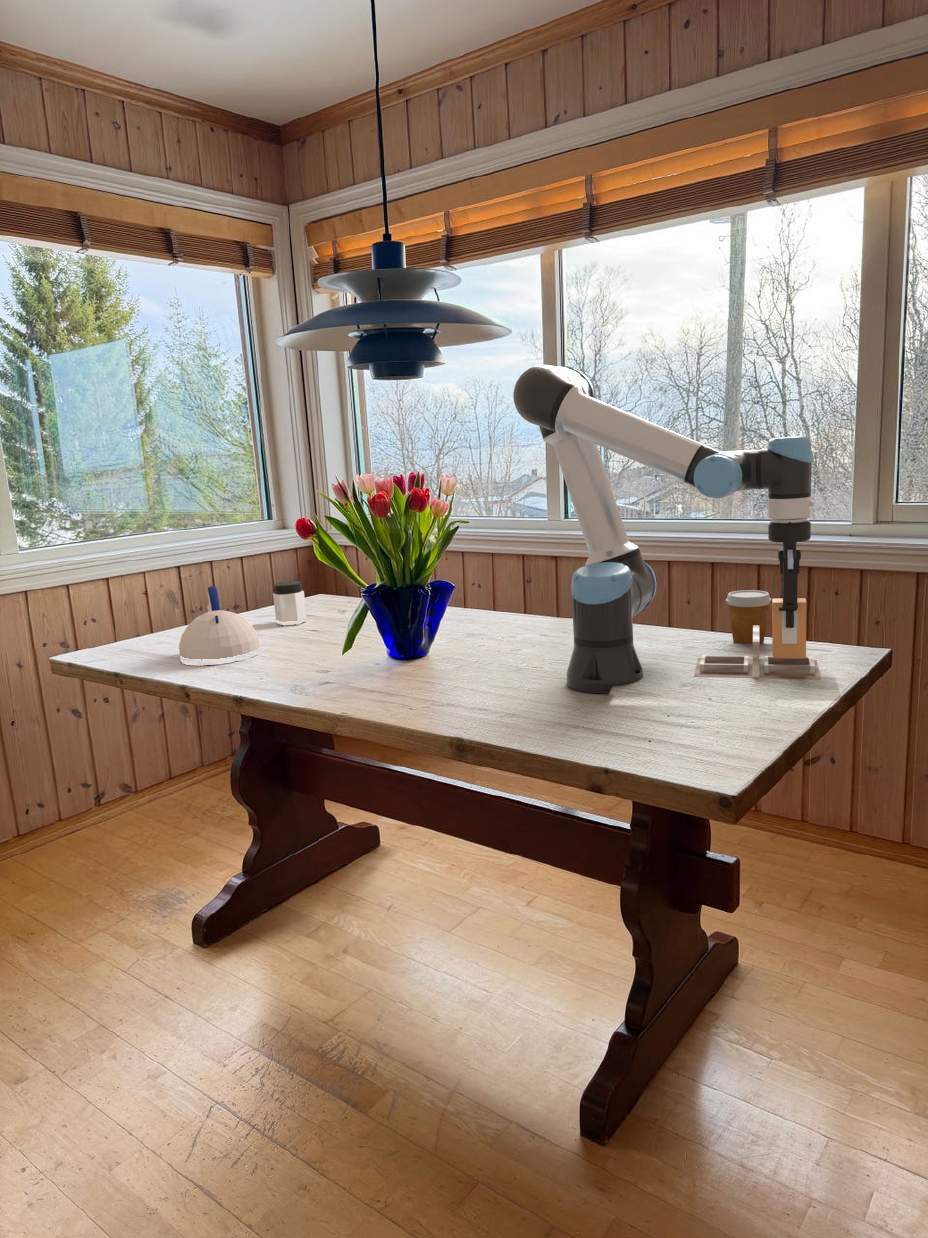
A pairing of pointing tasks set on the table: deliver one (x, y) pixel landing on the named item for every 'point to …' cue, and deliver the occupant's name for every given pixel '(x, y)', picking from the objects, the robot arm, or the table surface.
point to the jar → (289, 601)
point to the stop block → (777, 646)
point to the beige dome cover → (217, 633)
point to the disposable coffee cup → (748, 614)
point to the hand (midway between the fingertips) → (789, 640)
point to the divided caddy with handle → (756, 665)
